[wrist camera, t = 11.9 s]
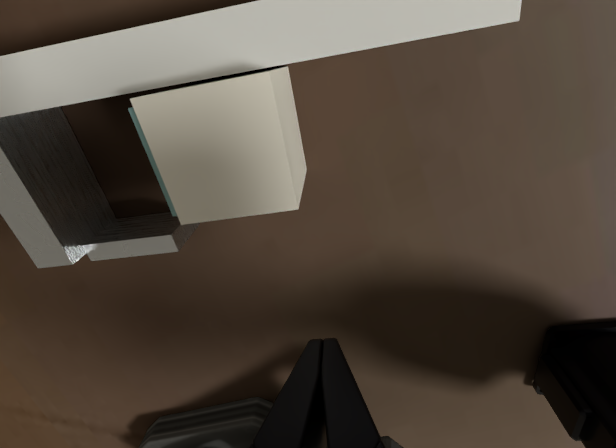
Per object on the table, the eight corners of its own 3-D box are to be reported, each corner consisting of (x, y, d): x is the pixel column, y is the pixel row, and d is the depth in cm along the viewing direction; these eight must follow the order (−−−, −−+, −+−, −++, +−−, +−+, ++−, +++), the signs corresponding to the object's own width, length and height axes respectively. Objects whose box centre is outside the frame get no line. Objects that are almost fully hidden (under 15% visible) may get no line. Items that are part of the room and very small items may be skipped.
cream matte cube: (287, 66, 15) (269, 71, 10) (306, 169, 17) (298, 209, 12) (180, 87, 15) (119, 100, 11) (211, 183, 18) (172, 226, 13)
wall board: (480, -31, 12) (528, -58, 9) (475, 28, 13) (519, 20, 10) (2, 69, 15) (-81, 73, 12) (26, 112, 16) (-45, 125, 13)
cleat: (150, 89, 15) (96, 99, 12) (199, 223, 19) (169, 262, 15) (26, 112, 16) (-58, 128, 13) (94, 236, 20) (43, 276, 16)
